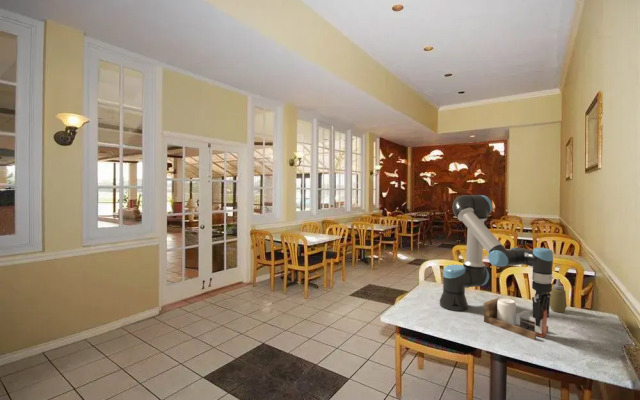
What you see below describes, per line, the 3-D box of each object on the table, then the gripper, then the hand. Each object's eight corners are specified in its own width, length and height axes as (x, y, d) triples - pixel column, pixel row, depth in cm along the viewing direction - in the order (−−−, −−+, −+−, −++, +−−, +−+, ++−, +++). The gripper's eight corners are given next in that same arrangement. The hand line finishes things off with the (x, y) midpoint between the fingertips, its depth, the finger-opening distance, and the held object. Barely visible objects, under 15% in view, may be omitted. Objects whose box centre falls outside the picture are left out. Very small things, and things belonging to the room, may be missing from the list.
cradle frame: (483, 321, 164) (484, 302, 164) (498, 315, 172) (498, 297, 172) (534, 339, 145) (535, 318, 144) (548, 332, 152) (548, 311, 152)
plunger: (515, 330, 154) (516, 305, 153) (525, 325, 159) (525, 302, 158) (539, 339, 145) (540, 313, 144) (549, 333, 150) (549, 308, 150)
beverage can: (517, 327, 157) (518, 303, 157) (500, 326, 159) (500, 302, 158) (511, 321, 165) (512, 298, 165) (494, 319, 167) (495, 297, 166)
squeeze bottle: (551, 312, 177) (552, 280, 176) (546, 307, 184) (547, 276, 184) (568, 314, 174) (569, 281, 173) (563, 309, 181) (564, 278, 181)
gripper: (543, 286, 140) (541, 339, 141) (559, 280, 149) (557, 330, 150) (524, 282, 147) (523, 332, 148) (541, 277, 156) (539, 324, 157)
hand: (540, 331), depth 149 cm, fingers closed on plunger, 3 cm apart
